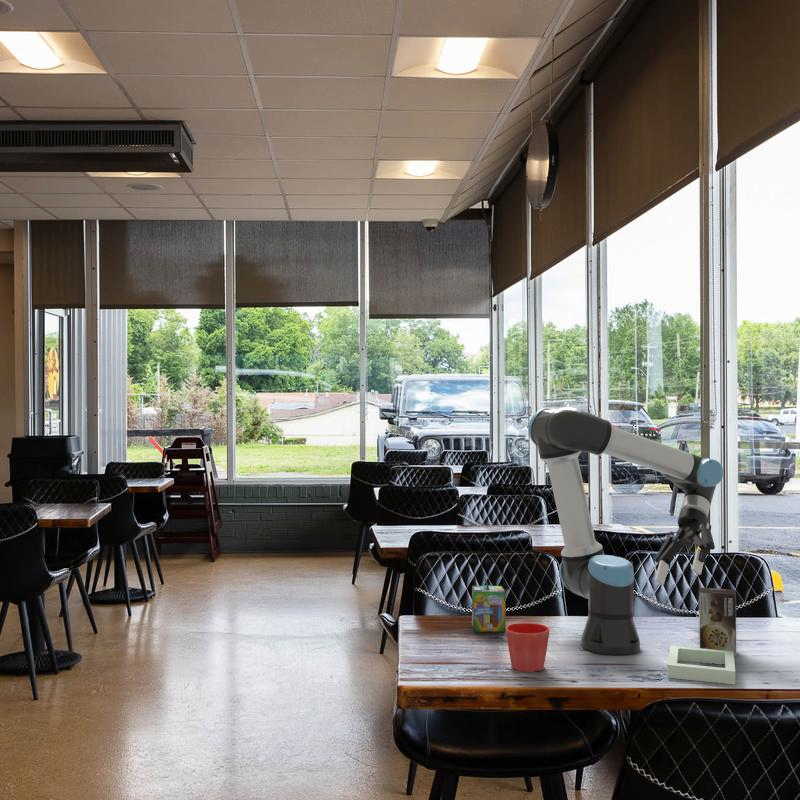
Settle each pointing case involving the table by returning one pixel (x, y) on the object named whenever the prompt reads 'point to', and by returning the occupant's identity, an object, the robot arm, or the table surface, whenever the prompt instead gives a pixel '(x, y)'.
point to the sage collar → (701, 672)
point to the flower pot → (527, 645)
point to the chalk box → (488, 608)
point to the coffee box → (718, 619)
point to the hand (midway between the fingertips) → (677, 577)
